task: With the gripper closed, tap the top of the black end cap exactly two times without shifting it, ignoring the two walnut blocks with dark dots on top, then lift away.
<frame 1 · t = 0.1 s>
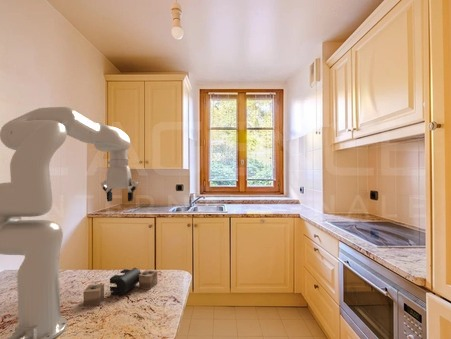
hand: (120, 201, 116), 31 cm above the countertop, tool pointing down, fingers open, 9 cm apart
marked block b: (148, 285, 99), on the countertop
marked block a: (94, 302, 88), on the countertop
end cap: (126, 290, 96), on the countertop
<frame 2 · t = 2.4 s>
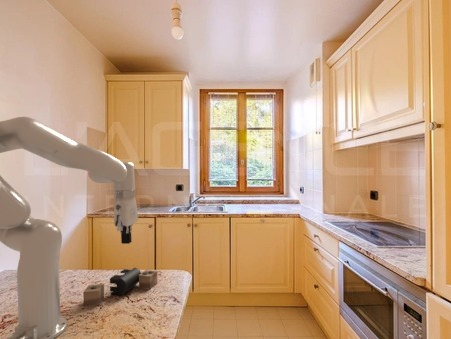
hand: (126, 242, 96), 18 cm above the countertop, tool pointing down, fingers closed
nothing on the countertop moved.
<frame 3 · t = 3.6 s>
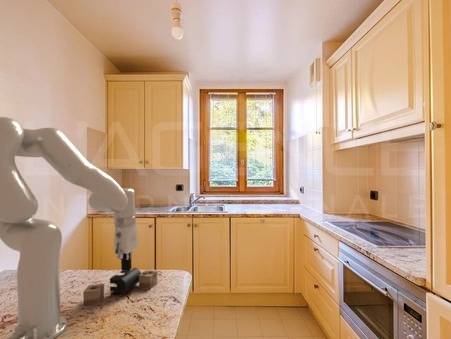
hand: (126, 269, 96), 8 cm above the countertop, tool pointing down, fingers closed
nothing on the countertop moved.
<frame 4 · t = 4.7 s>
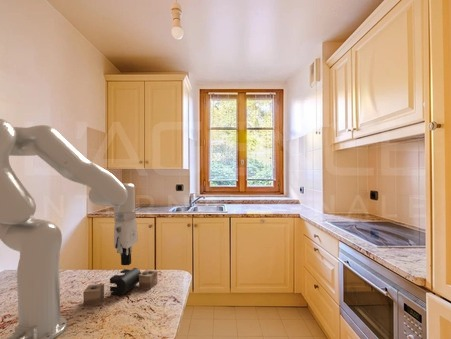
hand: (126, 264, 96), 10 cm above the countertop, tool pointing down, fingers closed
nothing on the countertop moved.
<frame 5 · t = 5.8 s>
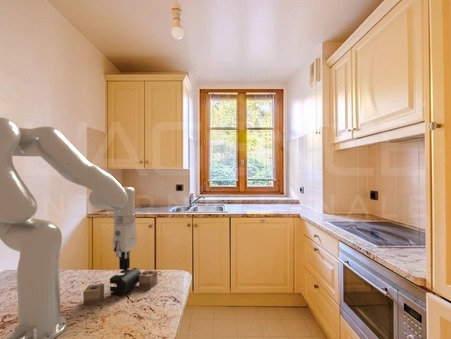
hand: (124, 268, 95), 8 cm above the countertop, tool pointing down, fingers closed
nothing on the countertop moved.
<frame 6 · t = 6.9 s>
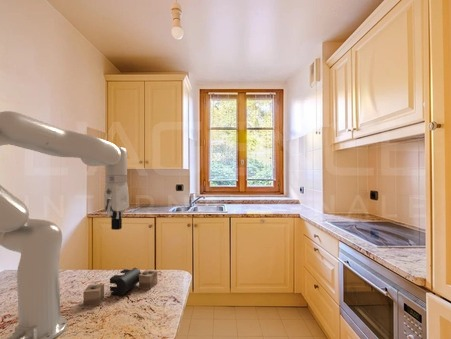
hand: (116, 229, 95), 23 cm above the countertop, tool pointing down, fingers closed
nothing on the countertop moved.
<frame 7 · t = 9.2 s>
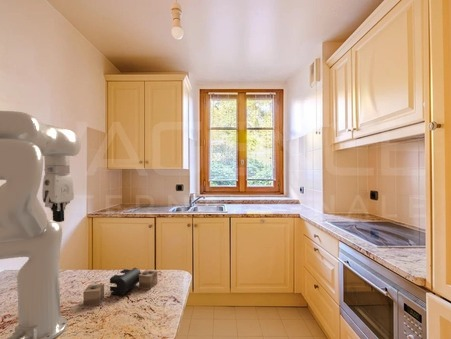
hand: (58, 221, 92), 27 cm above the countertop, tool pointing down, fingers closed
nothing on the countertop moved.
at the end: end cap moved 0.3 cm from its start; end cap tilted 0°; marked block a moved 0.1 cm from its start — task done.
